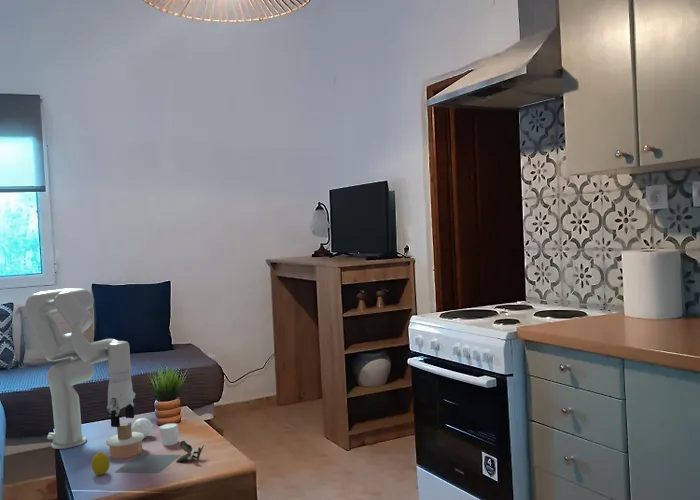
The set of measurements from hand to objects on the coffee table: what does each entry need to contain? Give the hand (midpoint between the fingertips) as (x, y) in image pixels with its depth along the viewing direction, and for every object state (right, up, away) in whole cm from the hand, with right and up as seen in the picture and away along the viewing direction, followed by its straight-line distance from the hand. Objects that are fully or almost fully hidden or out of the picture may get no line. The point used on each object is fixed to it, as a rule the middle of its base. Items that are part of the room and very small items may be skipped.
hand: (122, 422), depth 231 cm
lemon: (0, -13, -20) cm, 23 cm away
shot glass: (+15, -11, +8) cm, 20 cm away
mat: (+13, -11, -12) cm, 21 cm away
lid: (+1, -7, 0) cm, 7 cm away
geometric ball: (+2, -11, +17) cm, 21 cm away
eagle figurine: (+27, -11, -11) cm, 31 cm away
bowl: (+1, -12, 0) cm, 12 cm away
